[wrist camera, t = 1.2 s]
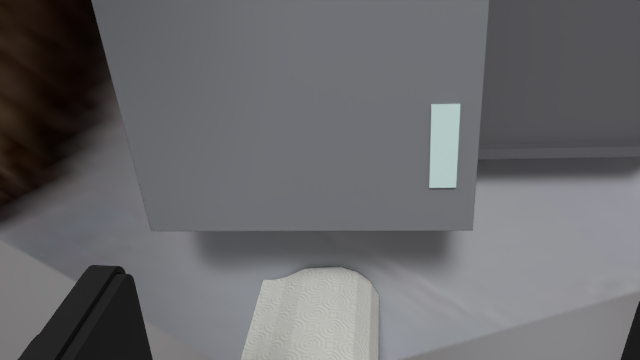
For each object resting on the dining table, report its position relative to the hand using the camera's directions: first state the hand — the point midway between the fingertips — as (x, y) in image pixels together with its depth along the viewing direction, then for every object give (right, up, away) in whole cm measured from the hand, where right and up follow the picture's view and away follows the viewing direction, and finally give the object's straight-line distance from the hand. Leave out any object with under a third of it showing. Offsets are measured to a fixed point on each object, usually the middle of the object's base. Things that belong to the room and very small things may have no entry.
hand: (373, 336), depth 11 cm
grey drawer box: (-2, +11, +20) cm, 22 cm away
